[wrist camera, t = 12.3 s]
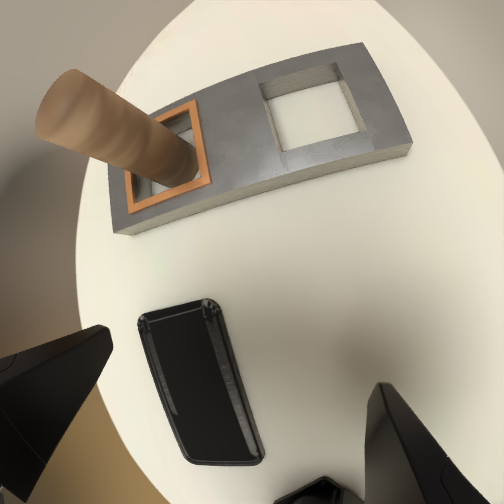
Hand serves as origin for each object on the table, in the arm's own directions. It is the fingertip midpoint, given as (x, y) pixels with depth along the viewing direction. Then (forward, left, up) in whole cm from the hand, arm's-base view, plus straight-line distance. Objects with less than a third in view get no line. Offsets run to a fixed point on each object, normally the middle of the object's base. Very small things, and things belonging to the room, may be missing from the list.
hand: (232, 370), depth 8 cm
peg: (+2, +15, -12) cm, 19 cm away
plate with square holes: (+7, +11, -12) cm, 18 cm away
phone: (-11, 0, -13) cm, 17 cm away
